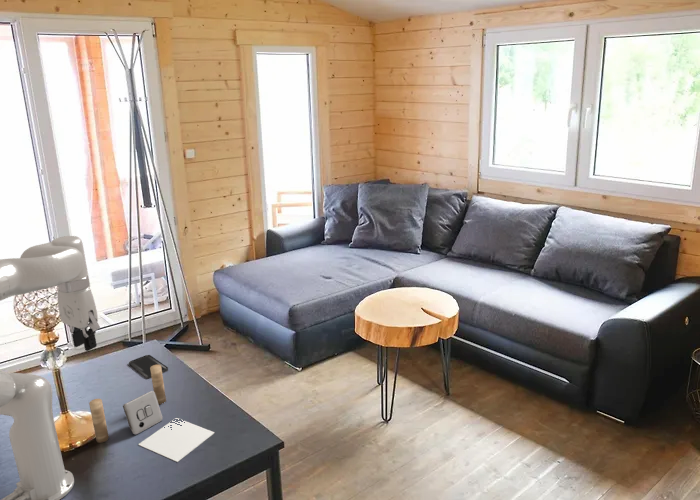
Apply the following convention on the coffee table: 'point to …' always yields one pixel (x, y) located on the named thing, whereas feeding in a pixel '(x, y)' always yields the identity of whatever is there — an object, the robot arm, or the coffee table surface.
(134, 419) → the electrical switch
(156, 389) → the far oak dowel
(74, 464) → the coffee table surface
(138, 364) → the phone
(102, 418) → the near oak dowel
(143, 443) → the mat
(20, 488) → the robot arm
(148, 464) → the coffee table surface
